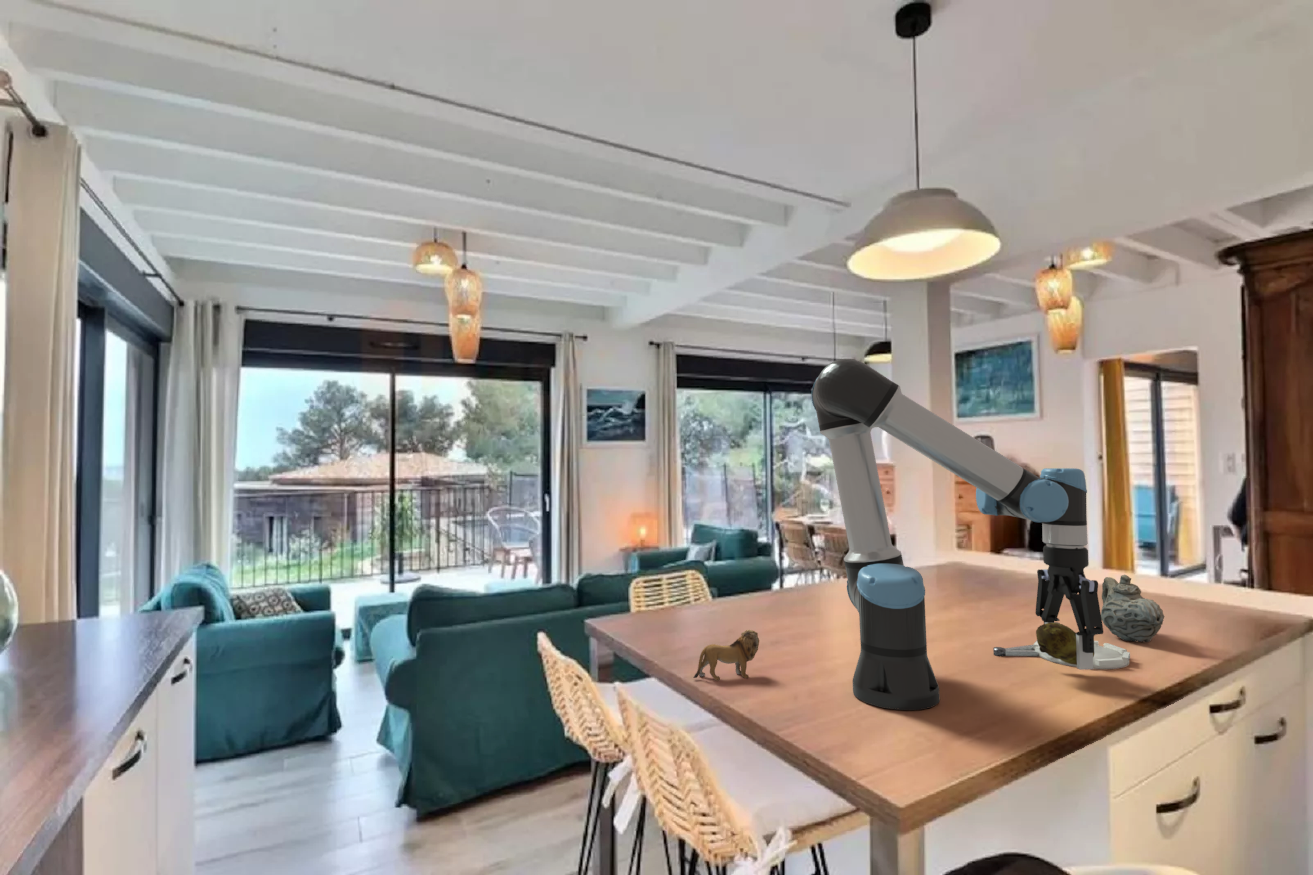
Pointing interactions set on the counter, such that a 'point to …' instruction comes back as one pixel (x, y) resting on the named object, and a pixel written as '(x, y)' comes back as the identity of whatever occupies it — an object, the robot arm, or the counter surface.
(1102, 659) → the plate
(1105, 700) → the counter surface
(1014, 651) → the open tongs prop
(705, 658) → the lion figurine
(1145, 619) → the teapot
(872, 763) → the counter surface
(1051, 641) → the potato
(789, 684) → the counter surface
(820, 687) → the counter surface
